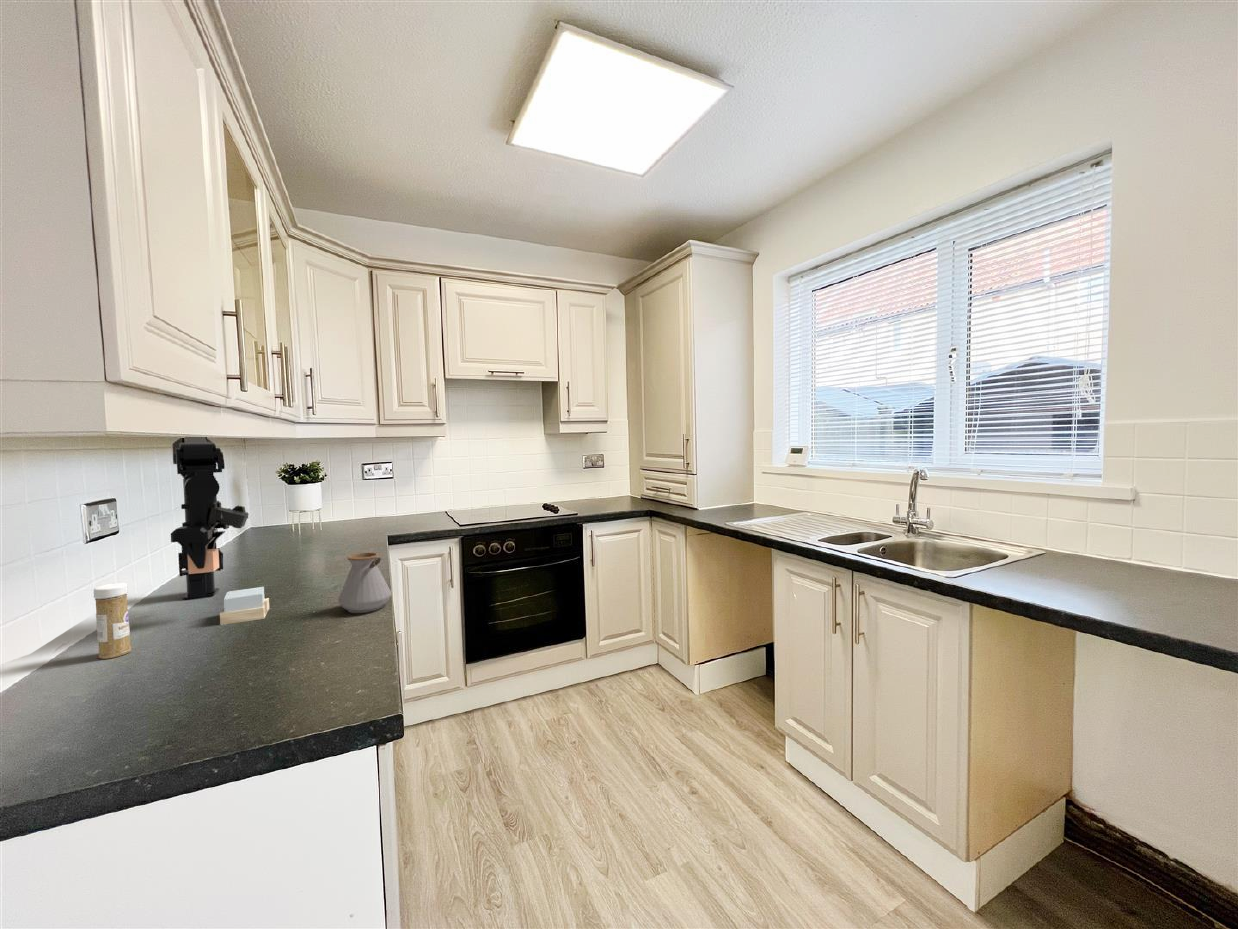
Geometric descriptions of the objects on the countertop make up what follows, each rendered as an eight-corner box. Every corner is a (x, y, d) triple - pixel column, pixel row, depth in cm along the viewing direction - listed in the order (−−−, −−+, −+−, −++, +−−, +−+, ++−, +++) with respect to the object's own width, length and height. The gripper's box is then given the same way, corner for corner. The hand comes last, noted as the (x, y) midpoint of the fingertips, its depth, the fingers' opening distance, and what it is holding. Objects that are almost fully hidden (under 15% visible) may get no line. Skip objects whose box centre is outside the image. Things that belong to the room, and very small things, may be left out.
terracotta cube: (195, 569, 116) (194, 550, 116) (219, 567, 118) (218, 548, 118) (188, 574, 112) (187, 554, 112) (213, 571, 114) (212, 552, 114)
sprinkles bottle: (131, 654, 96) (127, 585, 96) (97, 662, 93) (92, 590, 92) (131, 647, 100) (127, 580, 99) (98, 654, 96) (94, 585, 96)
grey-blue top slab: (227, 604, 118) (227, 591, 118) (264, 598, 122) (263, 586, 121) (224, 612, 112) (223, 599, 112) (262, 606, 116) (262, 593, 116)
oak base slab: (228, 615, 119) (227, 603, 118) (269, 610, 122) (268, 598, 122) (220, 627, 112) (219, 613, 111) (264, 620, 115) (263, 607, 115)
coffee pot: (334, 607, 123) (332, 546, 122) (384, 597, 130) (382, 540, 129) (352, 632, 106) (350, 562, 105) (409, 619, 113) (407, 554, 112)
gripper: (233, 499, 109) (237, 570, 110) (252, 492, 126) (255, 554, 127) (167, 503, 105) (172, 577, 105) (196, 495, 121) (200, 559, 122)
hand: (204, 566), depth 115 cm, fingers closed on terracotta cube, 4 cm apart
